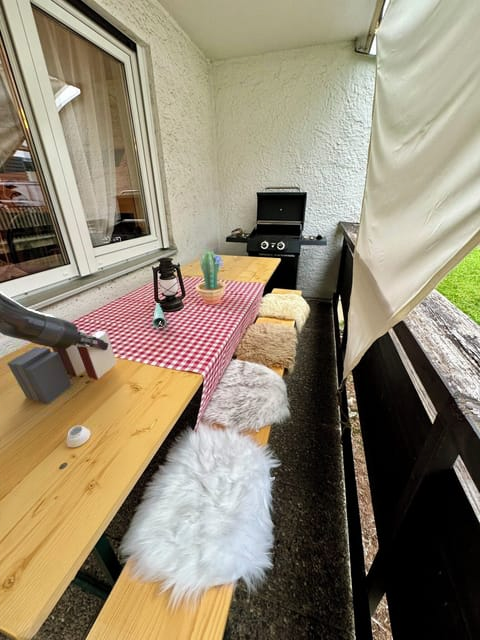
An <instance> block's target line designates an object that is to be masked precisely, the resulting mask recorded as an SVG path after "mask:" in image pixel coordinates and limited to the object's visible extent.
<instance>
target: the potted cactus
mask: <svg viewBox="0 0 480 640" xmlns="http://www.w3.org/2000/svg"><path fill="white" fill-rule="evenodd" d="M199 263H200V269H201V271H202V274H203V279H204V281H203V282H200V283H198V284H196V286H195V290H196V292H197V293H198V294H199V296H200V298H201V299H202V300H203V301H202V302H203V303H204V304H206V305H217V304H220V303H221V301H222V297H223V296H224V293H225V291H226V288H227V284H226V283H225V282H223V281H218V275H219V272H220V269H221V268H222V267H223V265H224V264H223V263H224V262H223V258H222V257H221V256H220V255H218V254H217V253H214V251H209V250H207V251H204V252H203V254H202V256H201V257H200V260H199Z"/></svg>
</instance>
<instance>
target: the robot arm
mask: <svg viewBox="0 0 480 640" xmlns="http://www.w3.org/2000/svg"><path fill="white" fill-rule="evenodd" d="M78 331H79V329H78V327H77V325H76V324H75V323H74V322H72V321H69V320H66V319H64V318H61V317H58V316H55V315H52V314H49V313H45V312H40V311H37V310H34V309H32V308H29V307H26V306H24V305H23V304H21V303H19V302H17V300H15V299H13V298H12V297H10V296H9V295H7V294H6V293H5V292H3V291H1V290H0V334H1V335H3V336H6V337H10V338H13V339H17V340H20V341H21V340H22V341H26V342H30V343H31V344H34V345H38V346H42V347H46V348H51V349H52V348H56V349H61V350H62V349H67V348H69V347H70V346H71V345H74V346H78V347H81V346H82V347H86V348H91V347H93V348H95V349H97V348H98V349H102V350H107V348H108V343H105V342H104V341H103V340H101V339H98V338H96V337H93V336H91V335H90V334H86V333H87V332H86V333H83V332H78ZM88 337H89V338H88ZM82 344H83V345H82ZM86 344H87V345H86Z"/></svg>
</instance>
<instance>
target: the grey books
mask: <svg viewBox="0 0 480 640" xmlns="http://www.w3.org/2000/svg"><path fill="white" fill-rule="evenodd" d="M7 366H8V367H9V369H10V371H11V373H12V375H13V376H14V378H15V380H16V382H17V384H18V385H19V387H20V390H21V391H22V393H23V394H24V396H25V399H29V400H33V401H36V402H39V403H43V404H46V405H49V404H50V403H51V402H53V401H54V400H55V399H56V398H58V397H60V395H62V394H63V393H65V391H67V390H68V389H69V388H71V387H72V386H73V384H72V381H71V379H70V377H69V376H70V375H68V374H67V372H66V369H65V367H64V365H63V362H62V360H61V358H60V355H59V353H56V352H54V351H51V347H47V346H42V347H39V346H35V347H33V348H31V349H29V350H27V351H26V352H24V353H22V354H20V355H19V356H17V357H15V358H13V359H11V360H9V361H8V362H7Z"/></svg>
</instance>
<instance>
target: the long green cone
mask: <svg viewBox="0 0 480 640" xmlns="http://www.w3.org/2000/svg"><path fill="white" fill-rule="evenodd" d="M159 304H160V302H159V303H157V302H156V303H155V307H154V312H153V316H152V326H153V327H154V328H155V329H156V330H157V329H158V328H159V326H158V325H159V322H160V321H161V324H162V328H163V327H164V328H165V327H166V326H167V320H166V317H165V314H164V311H163V309H162V307H160V306H161V304H160V305H159ZM158 330H159V329H158Z"/></svg>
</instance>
